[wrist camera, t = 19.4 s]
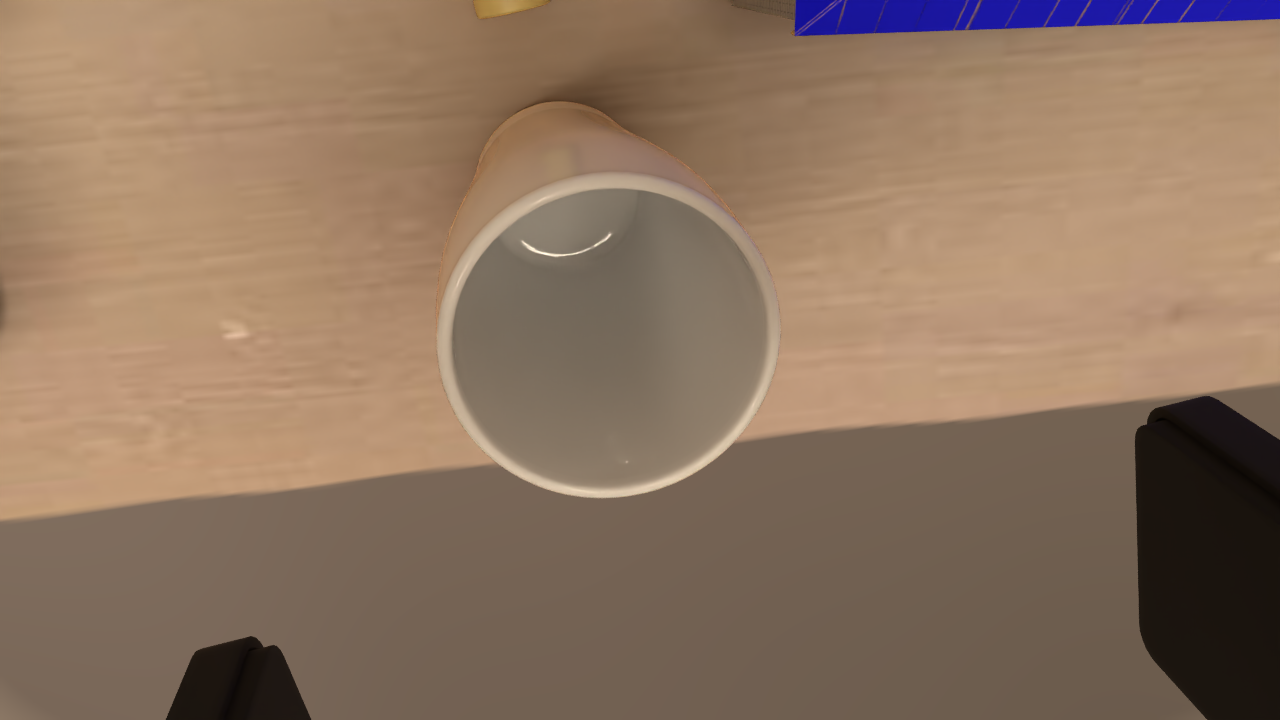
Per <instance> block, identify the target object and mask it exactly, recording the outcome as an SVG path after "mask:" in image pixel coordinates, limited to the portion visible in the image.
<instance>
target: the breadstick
mask: <svg viewBox="0 0 1280 720" xmlns="http://www.w3.org/2000/svg"><path fill="white" fill-rule="evenodd" d="M550 1H551V0H473V3H474V7H475V10H476V14H477V17H478V18H480V19H486V18H492V17H498V16H503V15H507V14H512V13H516V12H521V11H525V10H528V9H532V8H536V7H539V6H543V5H545V4H548V3H549V2H550Z"/></svg>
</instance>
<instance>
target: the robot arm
mask: <svg viewBox="0 0 1280 720" xmlns="http://www.w3.org/2000/svg"><path fill="white" fill-rule="evenodd" d="M1135 461H1136V503H1137V545H1138V588H1139V625H1140V632H1141V636H1142V639H1143V642H1144V644H1145V647H1146V649H1147V651H1148V652H1149V654H1150V656H1151V657H1152V659H1153V660H1154V661H1155V662H1156V663H1157V665H1158V666H1159V667H1160V668H1161V669H1162V670H1163V671H1164V672H1165V673H1166V675H1167V676H1168V677H1169V678H1170V679H1171V680H1172V681H1173V682H1174V683H1175V684H1176V686H1177V687H1178V688H1179V689H1180V690H1181V691H1182V692H1183V693H1184V694H1185V696H1186V697H1187V698H1188V699H1189V700H1190V701H1191V702H1192V703H1193V704H1194V705H1195V707H1196V708H1197V709H1198V710H1199V711H1200V712H1201V713H1202V714H1203V715H1204V717H1205V718H1206V719H1207V720H1280V440H1279V439H1277V438H1276V437H1274V436H1273V435H1271V434H1270V433H1268V432H1267V431H1265V430H1264V429H1262V428H1260V427H1259V426H1257V425H1256V424H1254V423H1253V422H1251V421H1250V420H1248V419H1247V418H1245V417H1243V416H1242V415H1240V414H1239V413H1237V412H1236V411H1234V410H1233V409H1231V408H1230V407H1228V406H1227V405H1225V404H1223V403H1222V402H1220V401H1219V400H1217V399H1215V398H1213V397H1210V396H1203V397H1198V398H1195V399H1191V400H1187V401H1183V402H1179V403H1175V404H1171V405H1167V406H1163V407H1159V408H1155V409H1154V410H1153V411H1152V412H1151V413H1150V415H1149V417H1148V420H1147V425H1143V426H1141V427H1139V428H1138V429H1137V432H1136V436H1135ZM166 720H311V718H310V716H309V714H308V711H307V709H306V707H305V704H304V702H303V700H302V698H301V695H300V693H299V690H298V688H297V686H296V683H295V681H294V679H293V677H292V674H291V672H290V669H289V667H288V665H287V663H286V660H285V658H284V656H283V654H282V652H281V650H280V649H279V648H278V647H277V646H275V645H272V646H268V647H263V645H262V644H261V643H260V641H259V640H258V639H257V638H255V637H252V636H250V637H246V638H243V639H238V640H234V641H230V642H227V643H222V644H218V645H214V646H210V647H207V648H203V649H200V650H198V651H196V652H195V653H194V655H193V656H192V659H191V661H190V663H189V665H188V668H187V670H186V672H185V675H184V677H183V680H182V682H181V684H180V687H179V689H178V692H177V694H176V696H175V699H174V701H173V704H172V706H171V708H170V711H169V713H168V716H167V718H166Z"/></svg>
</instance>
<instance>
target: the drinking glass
mask: <svg viewBox="0 0 1280 720" xmlns="http://www.w3.org/2000/svg"><path fill="white" fill-rule="evenodd" d="M780 338H781V319H780V309H779V302H778V298H777V293H776V289H775V285H774V282H773V279H772V276H771V273H770V271H769V269H768V266H767V264H766V262H765V260H764V258H763V256H762V254H761V253H760V251H759V249H758V247H757V246H756V244H755V243H754V241H753V240H752V239H751V237H750V236H749V234H748V233H747V231H746V230H745V229H744V227H743V226H742V224H741V223H740V222H739V220H738V219H737V217H736V216H735V215H734V213H733V212H732V211H731V209H730V208H729V207H728V206H727V204H726V203H725V202H724V201H723V200H722V199H721V198H720V196H719V195H718V194H717V193H716V192H715V191H714V190H713V189H712V188H711V187H710V186H709V185H708V184H707V183H706V182H705V181H704V180H703V179H702V178H701V177H700V176H699V175H698V174H697V173H695V172H694V171H693V170H692V169H691V168H690V167H688V166H687V165H686V164H684V163H683V162H682V161H680V160H679V159H677V158H676V157H675V156H673V155H672V154H670V153H668V152H667V151H665V150H663V149H662V148H660V147H658V146H657V145H655V144H653V143H651V142H649V141H647V140H645V139H643V138H641V137H639V136H637V135H635V134H633V133H631V132H629V131H627V130H625V129H623V128H622V127H621V126H620V125H619V124H618V123H616V122H615V121H614V120H613V119H611V118H610V117H609V116H607V115H606V114H604V113H602V112H601V111H599V110H596V109H594V108H592V107H589V106H587V105H584V104H579V103H575V102H568V101H553V102H545V103H540V104H536V105H533V106H530V107H528V108H525V109H523V110H521V111H519V112H517V113H516V114H514V115H513V116H511V117H510V118H508V119H507V120H506V121H505V122H503V123H502V124H501V125H500V126H499V127H498V128H497V129H496V131H495V132H494V133H493V134H492V136H491V137H490V138H489V140H488V141H487V143H486V145H485V147H484V149H483V151H482V153H481V156H480V158H479V161H478V165H477V169H476V174H475V177H474V179H473V181H472V183H471V185H470V187H469V189H468V191H467V193H466V195H465V197H464V199H463V201H462V203H461V205H460V207H459V209H458V211H457V213H456V216H455V218H454V220H453V223H452V225H451V228H450V231H449V233H448V237H447V240H446V243H445V247H444V251H443V255H442V260H441V265H440V270H439V276H438V285H437V297H436V344H437V359H438V367H439V372H440V376H441V380H442V384H443V387H444V390H445V393H446V396H447V398H448V401H449V403H450V405H451V407H452V409H453V411H454V413H455V415H456V417H457V418H458V420H459V422H460V423H461V425H462V427H463V428H464V429H465V431H466V432H467V433H468V435H469V436H470V437H471V438H472V440H473V441H474V442H475V443H476V444H477V445H478V446H479V447H480V448H481V449H482V451H483V452H485V453H486V454H487V455H488V456H489V457H490V458H491V459H493V460H494V461H495V462H496V463H498V464H499V465H500V466H502V467H503V468H505V469H506V470H507V471H509V472H511V473H512V474H514V475H516V476H517V477H519V478H521V479H523V480H525V481H527V482H529V483H532V484H534V485H536V486H539V487H542V488H545V489H548V490H550V491H554V492H558V493H562V494H566V495H572V496H578V497H588V498H615V497H616V498H617V497H626V496H633V495H638V494H643V493H647V492H650V491H654V490H657V489H661V488H663V487H666V486H668V485H671V484H674V483H676V482H678V481H680V480H682V479H684V478H686V477H688V476H690V475H692V474H694V473H695V472H697V471H699V470H700V469H702V468H704V467H705V466H706V465H708V464H709V463H711V462H712V461H713V460H715V459H716V458H717V457H718V456H719V455H721V454H722V453H723V452H724V451H725V450H726V449H728V448H729V447H730V446H731V445H732V443H733V442H734V441H735V440H736V439H737V438H738V437H739V436H740V435H741V434H742V432H743V431H744V430H745V429H746V427H747V426H748V425H749V424H750V422H751V421H752V419H753V418H754V416H755V415H756V413H757V412H758V410H759V408H760V406H761V404H762V402H763V400H764V399H765V396H766V394H767V392H768V389H769V387H770V385H771V382H772V379H773V375H774V372H775V369H776V365H777V360H778V355H779V348H780Z"/></svg>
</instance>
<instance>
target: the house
mask: <svg viewBox="0 0 1280 720" xmlns="http://www.w3.org/2000/svg"><path fill="white" fill-rule="evenodd" d="M732 6H736V7H741V8H745V9H749V10H754V11H758V12H762V13H767V14H771V15H775V16H779V17H784V18H788V19H792V20H795V30H793V31H792V32H791V34H792V35H794V36H808V35H836V34H865V33H894V32H922V31H951V30H979V29H1008V28H1037V27H1065V26H1094V25H1123V24H1151V23H1180V22H1209V21H1237V20H1266V19H1280V0H732Z"/></svg>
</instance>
